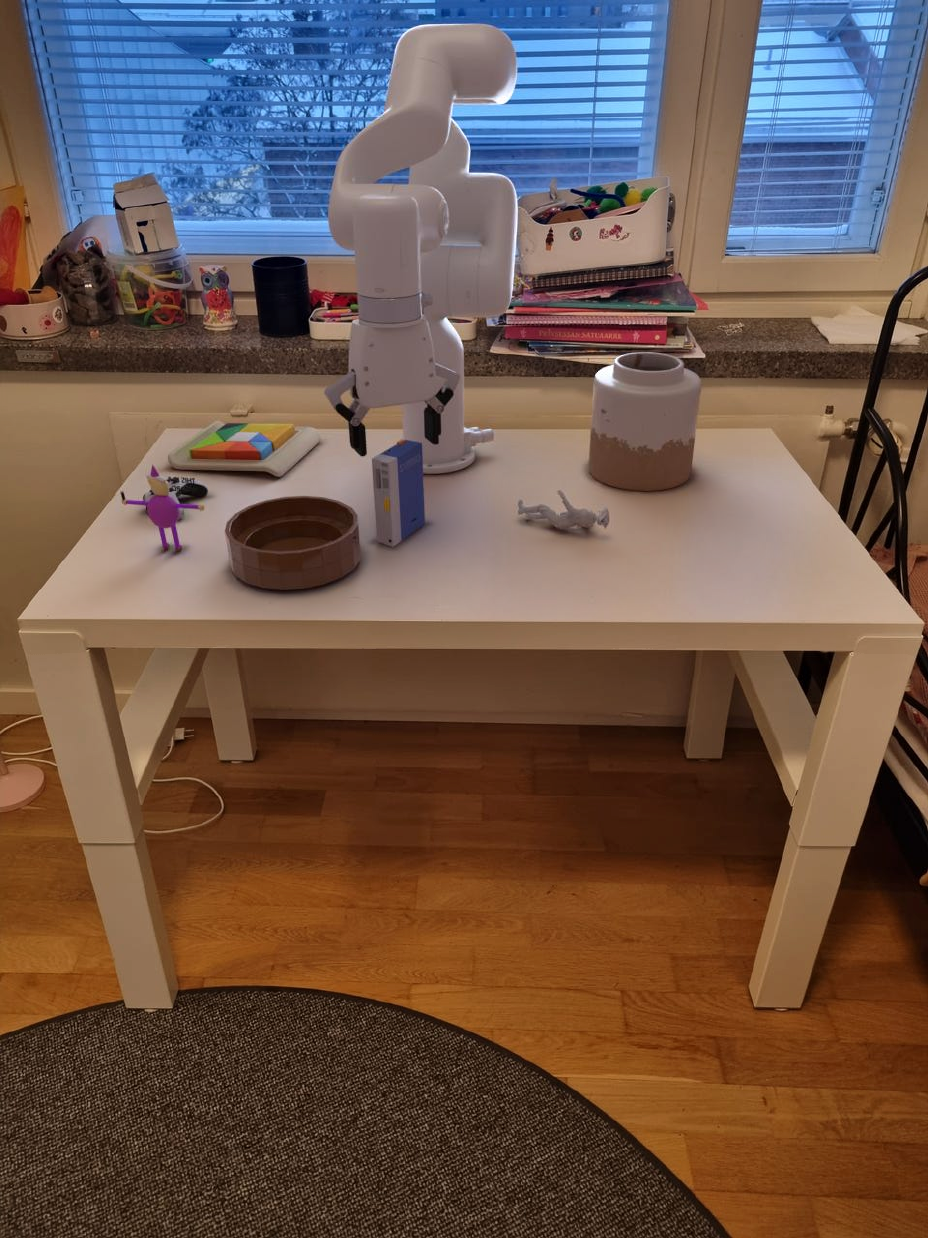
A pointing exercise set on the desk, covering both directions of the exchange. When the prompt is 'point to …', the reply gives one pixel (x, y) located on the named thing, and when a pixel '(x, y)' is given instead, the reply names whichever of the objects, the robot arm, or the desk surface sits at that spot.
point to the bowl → (293, 542)
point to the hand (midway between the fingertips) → (396, 446)
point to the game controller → (181, 492)
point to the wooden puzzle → (245, 447)
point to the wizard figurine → (164, 505)
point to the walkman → (398, 491)
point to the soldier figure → (565, 515)
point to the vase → (644, 422)
